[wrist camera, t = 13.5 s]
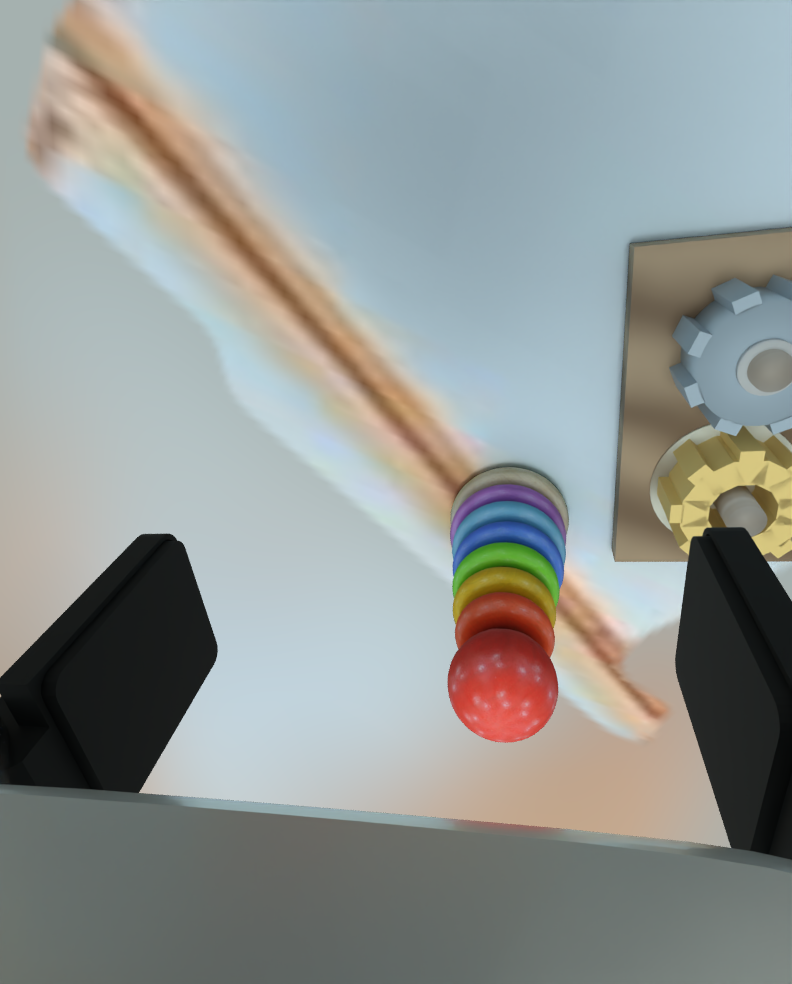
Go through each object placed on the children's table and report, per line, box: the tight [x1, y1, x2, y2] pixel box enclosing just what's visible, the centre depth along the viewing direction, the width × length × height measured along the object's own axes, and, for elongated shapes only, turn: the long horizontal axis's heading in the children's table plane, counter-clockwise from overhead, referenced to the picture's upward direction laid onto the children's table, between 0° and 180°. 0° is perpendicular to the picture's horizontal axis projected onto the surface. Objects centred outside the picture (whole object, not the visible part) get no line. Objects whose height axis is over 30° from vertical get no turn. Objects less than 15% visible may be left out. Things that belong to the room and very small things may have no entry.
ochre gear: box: [657, 425, 792, 558], centre depth 36 cm, size 8×8×4 cm
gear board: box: [612, 227, 792, 562], centre depth 34 cm, size 20×12×6 cm, turn 7°
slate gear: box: [669, 275, 792, 436], centre depth 32 cm, size 8×8×4 cm
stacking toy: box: [448, 467, 569, 743], centre depth 34 cm, size 8×8×19 cm
